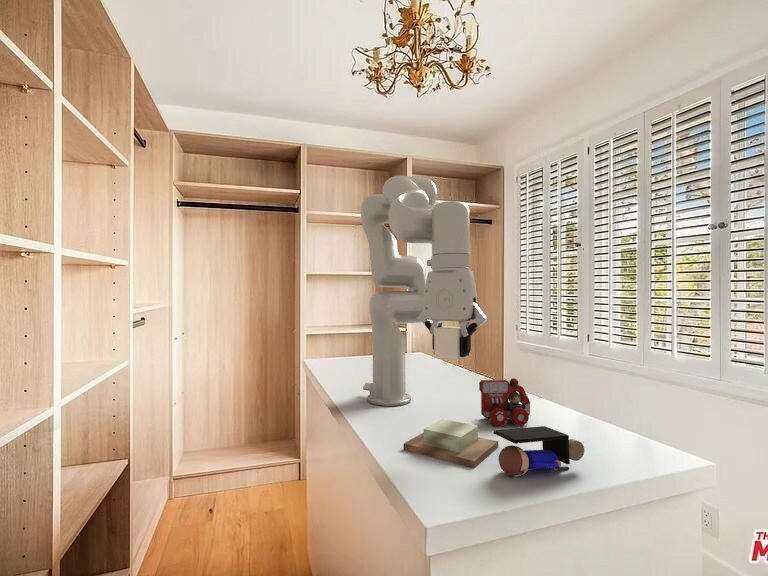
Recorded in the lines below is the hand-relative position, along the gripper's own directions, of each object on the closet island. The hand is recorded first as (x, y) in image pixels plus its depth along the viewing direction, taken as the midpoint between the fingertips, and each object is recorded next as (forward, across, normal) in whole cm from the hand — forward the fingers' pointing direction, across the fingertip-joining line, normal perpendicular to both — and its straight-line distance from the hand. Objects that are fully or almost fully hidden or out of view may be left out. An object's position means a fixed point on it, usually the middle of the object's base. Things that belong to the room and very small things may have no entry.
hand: (451, 354), depth 84 cm
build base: (+19, 0, 0) cm, 19 cm away
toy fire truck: (+19, +3, +23) cm, 30 cm away
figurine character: (+19, +17, 0) cm, 26 cm away
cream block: (+1, 0, 0) cm, 1 cm away
